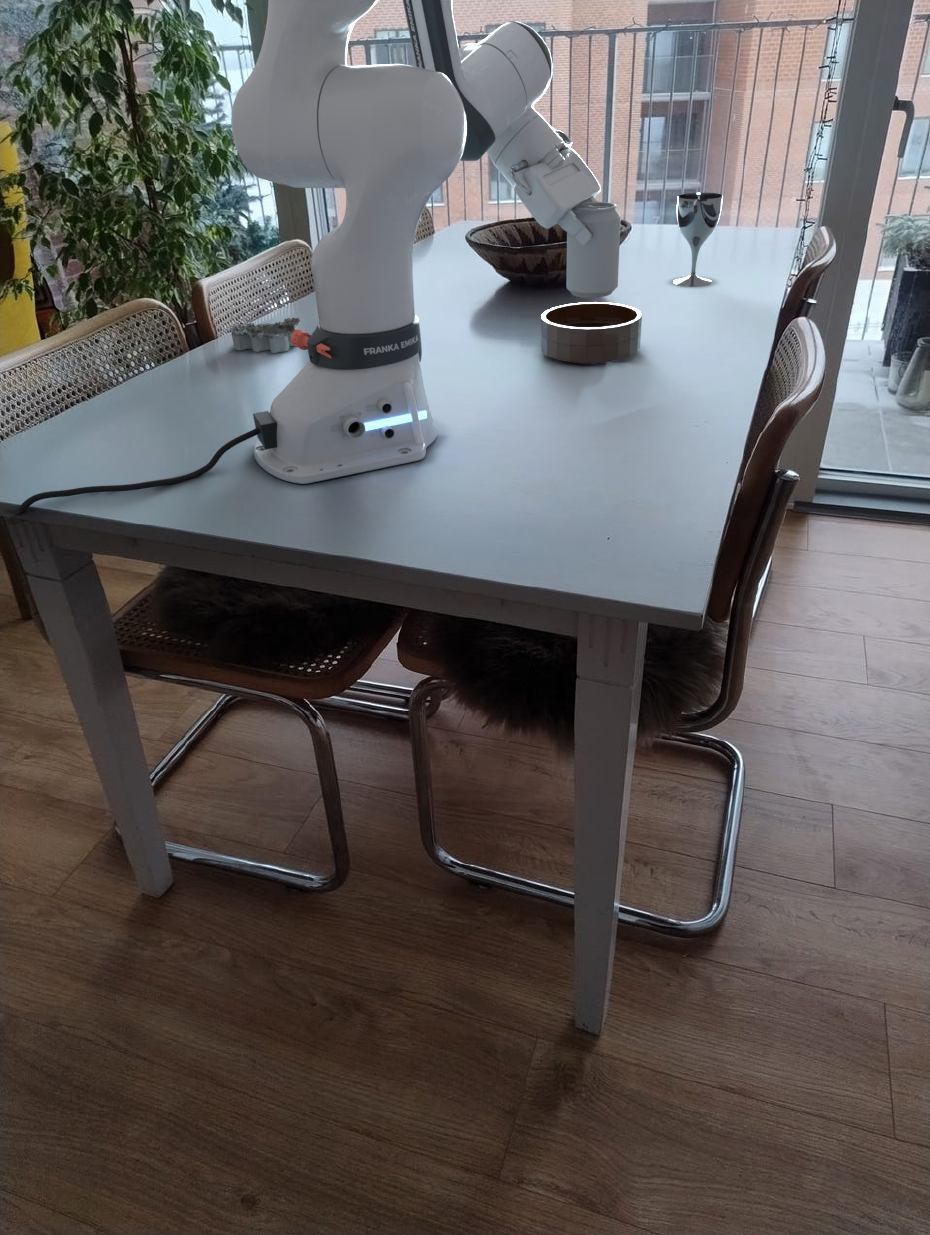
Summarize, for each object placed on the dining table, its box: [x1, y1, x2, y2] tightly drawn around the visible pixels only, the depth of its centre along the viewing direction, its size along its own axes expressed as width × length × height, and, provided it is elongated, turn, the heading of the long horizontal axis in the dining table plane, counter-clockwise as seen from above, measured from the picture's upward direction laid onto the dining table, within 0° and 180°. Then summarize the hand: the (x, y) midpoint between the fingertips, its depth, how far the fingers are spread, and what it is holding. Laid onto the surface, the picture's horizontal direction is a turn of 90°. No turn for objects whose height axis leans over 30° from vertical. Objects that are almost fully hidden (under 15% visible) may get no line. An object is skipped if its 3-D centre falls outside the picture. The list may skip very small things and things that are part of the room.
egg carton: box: [227, 317, 301, 354], centre depth 143 cm, size 11×8×4 cm
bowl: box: [540, 301, 643, 365], centre depth 131 cm, size 15×15×6 cm
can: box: [565, 201, 622, 299], centre depth 125 cm, size 8×8×12 cm
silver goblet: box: [673, 192, 724, 288], centre depth 162 cm, size 8×8×15 cm
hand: (597, 234), depth 124 cm, fingers closed on can, 7 cm apart
